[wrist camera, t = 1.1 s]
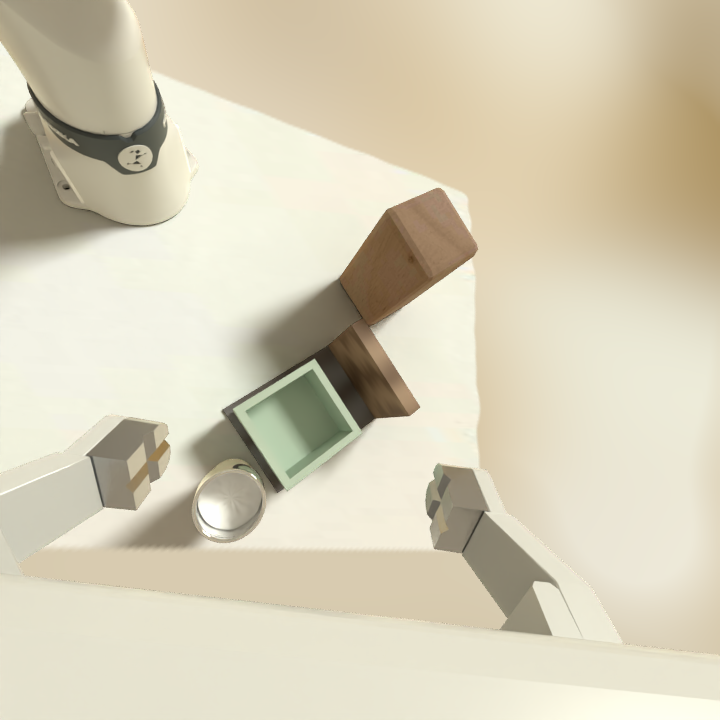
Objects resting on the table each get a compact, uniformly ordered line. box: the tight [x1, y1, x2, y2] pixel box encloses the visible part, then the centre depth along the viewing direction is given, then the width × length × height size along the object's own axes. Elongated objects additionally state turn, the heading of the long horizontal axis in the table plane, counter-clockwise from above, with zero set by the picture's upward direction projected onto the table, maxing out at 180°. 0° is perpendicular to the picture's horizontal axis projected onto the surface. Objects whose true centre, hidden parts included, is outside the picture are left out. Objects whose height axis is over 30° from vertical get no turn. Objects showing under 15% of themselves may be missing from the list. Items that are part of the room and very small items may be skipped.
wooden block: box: [340, 188, 478, 325], centre depth 49 cm, size 10×10×20 cm
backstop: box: [223, 318, 420, 493], centre depth 45 cm, size 14×20×12 cm
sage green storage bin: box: [233, 359, 362, 491], centre depth 45 cm, size 12×12×7 cm
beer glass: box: [192, 459, 266, 543], centre depth 38 cm, size 7×7×15 cm
